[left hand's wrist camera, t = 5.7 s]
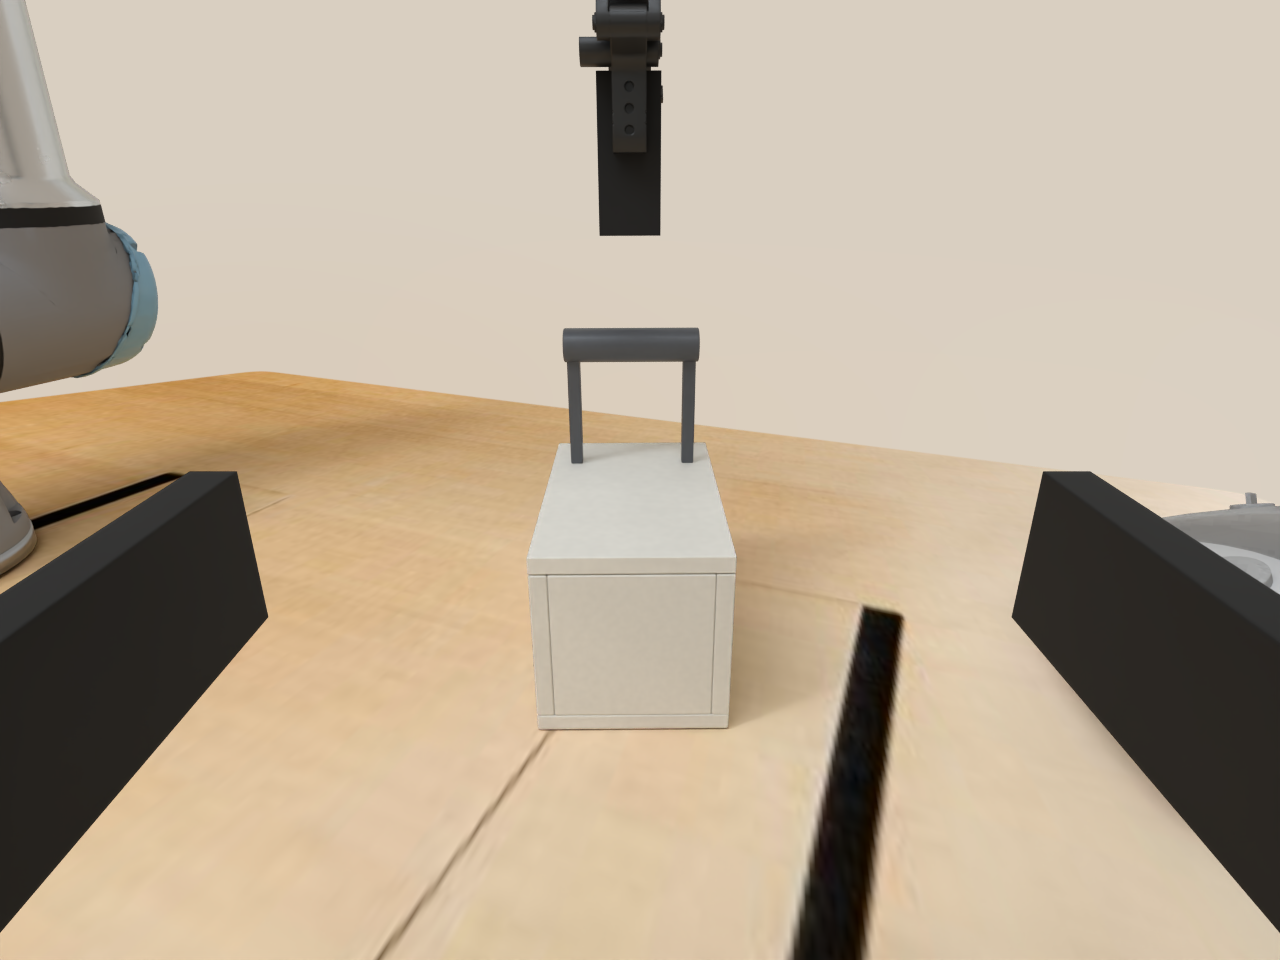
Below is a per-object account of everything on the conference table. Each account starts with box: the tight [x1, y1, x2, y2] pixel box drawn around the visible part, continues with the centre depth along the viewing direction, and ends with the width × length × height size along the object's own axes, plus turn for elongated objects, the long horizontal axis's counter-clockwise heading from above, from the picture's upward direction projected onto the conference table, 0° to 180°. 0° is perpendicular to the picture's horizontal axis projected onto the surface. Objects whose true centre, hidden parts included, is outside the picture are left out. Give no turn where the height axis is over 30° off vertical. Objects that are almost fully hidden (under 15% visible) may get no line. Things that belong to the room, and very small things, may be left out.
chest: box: [528, 573, 736, 729], centre depth 42 cm, size 15×9×9 cm, turn 1°
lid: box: [527, 328, 737, 575], centre depth 40 cm, size 16×9×9 cm, turn 1°
